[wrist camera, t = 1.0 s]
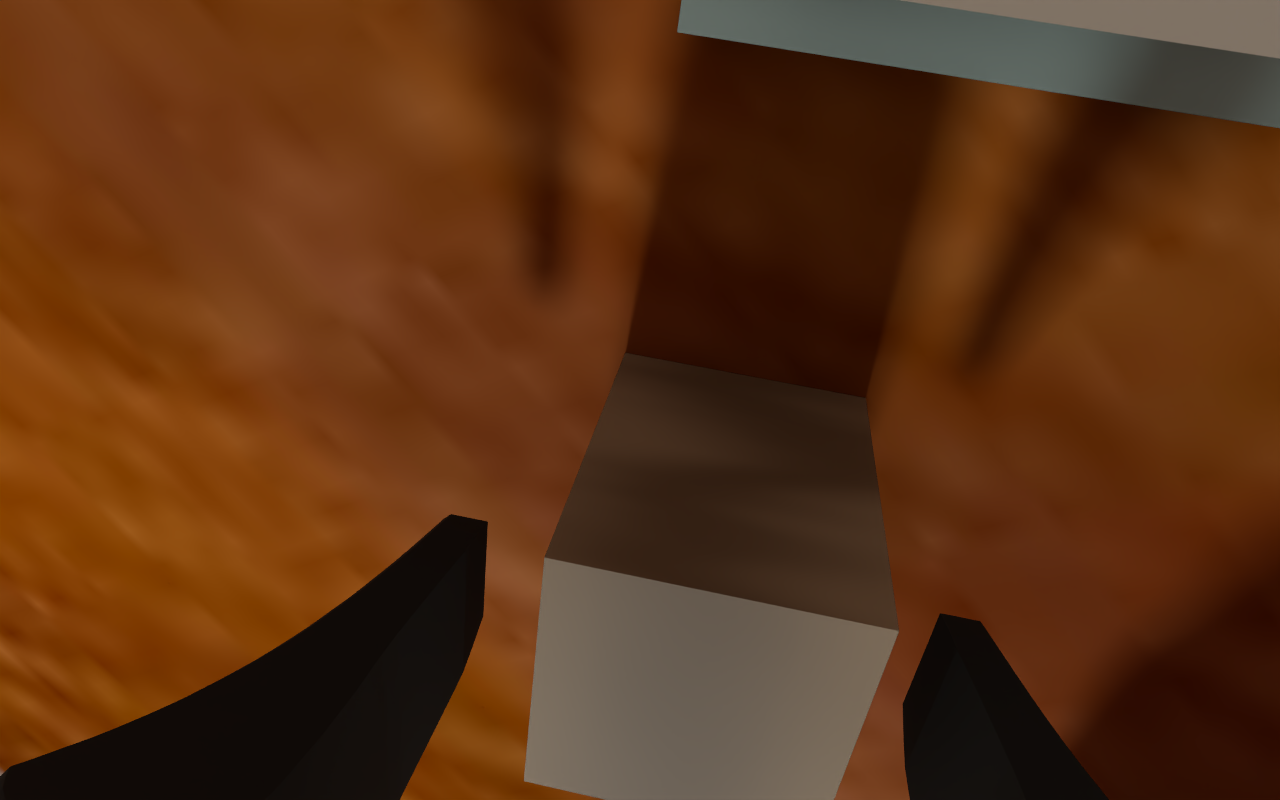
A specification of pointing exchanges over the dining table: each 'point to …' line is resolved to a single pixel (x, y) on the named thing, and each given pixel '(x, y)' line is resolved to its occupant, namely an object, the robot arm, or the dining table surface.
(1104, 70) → the housing board
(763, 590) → the block
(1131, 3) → the cover
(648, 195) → the dining table surface
